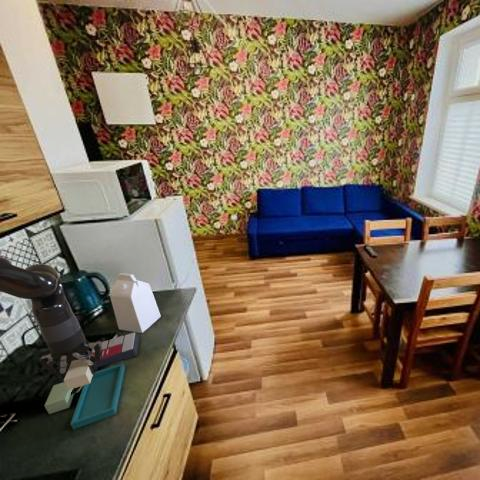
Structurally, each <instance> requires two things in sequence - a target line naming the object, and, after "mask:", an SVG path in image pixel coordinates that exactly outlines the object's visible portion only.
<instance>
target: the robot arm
mask: <svg viewBox="0 0 480 480" xmlns="http://www.w3.org/2000/svg"><path fill="white" fill-rule="evenodd" d="M0 292H1V293H4V294H7V295H10V296H12V297H16V298H19V299H23V300H30V302H31V313H32V315H33V318H34V319H35V322H36V324H37V325H38V328H39V332H40V334H41V336H42V338H43V340H44V342H45V344H46V346H47V348H48V350H49V352H50V353H49V354H47V353H46V354H45V353H44V354H42V356H41V357H40V360H39V361H38V363H39V365H41V366H42V367H43V368H44V369H45V370H46V371H47V372H48V373H49V374H51V375H56V374H61V376H62V377H63V379H64V378H65V376H66V374H67V372H68V369H69V367H70V366H69V363H71V362H72V361H74V360H81V361H82V362H85V363H87V364H88V367H89V369H90V371H91V373H92V374H95V373H96V371H98V370H99V369H98V368H99V367H98V365H97V363H96V362H98V361H100V358H101V355H102V344H101V342H102V340H100V339H98V340H96V342H95V341H94V342H90V341H88V340H87V339H86V335H85V334H84V332H83V329H82V326H81V323H80V322H79V320H78V318H77V317H76V315H75V314H74V312H73V310H72V307H71V304H70V302H69V301H68V299H67V297H66V294H65V290H64V286H63V283H62V280H61V277H60V274H59V273H58V270H57V269H55V268H54V267H53V266H51V265H49V264H46V263H35V264H32V265H29V266H27V267H26V268H22V267H19V266H16V265H14V264H12V261H10V260H9V259H8V258H6V257H2V256H0ZM89 349H91V351H92V350H93V351H95V356H93V355H92V354H91V351H90V350H89ZM54 359H55V360H57V361H59V362H60V363H57V362H56V361H55V360H54Z"/></svg>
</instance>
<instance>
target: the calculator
mask: <svg viewBox="0 0 480 480" xmlns="http://www.w3.org/2000/svg"><path fill="white" fill-rule="evenodd" d="M138 334H139V333H138V332H131V333H128V334H125V335H120V336H116V337H114V338H112V339H109V340H103V341H101V344H102V355H101V358H100V361H98V362H96V363H97V365H98V368H100V367H104V366H107V365H109V364H113V363H116V362H118V361H122V360H128V359H131V358H135V357H136V356H138V349H139V341H140V337H139V335H138ZM90 352H91V354H92V355H93V356H95V351H93V350H92V349H91V351H90Z"/></svg>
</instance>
